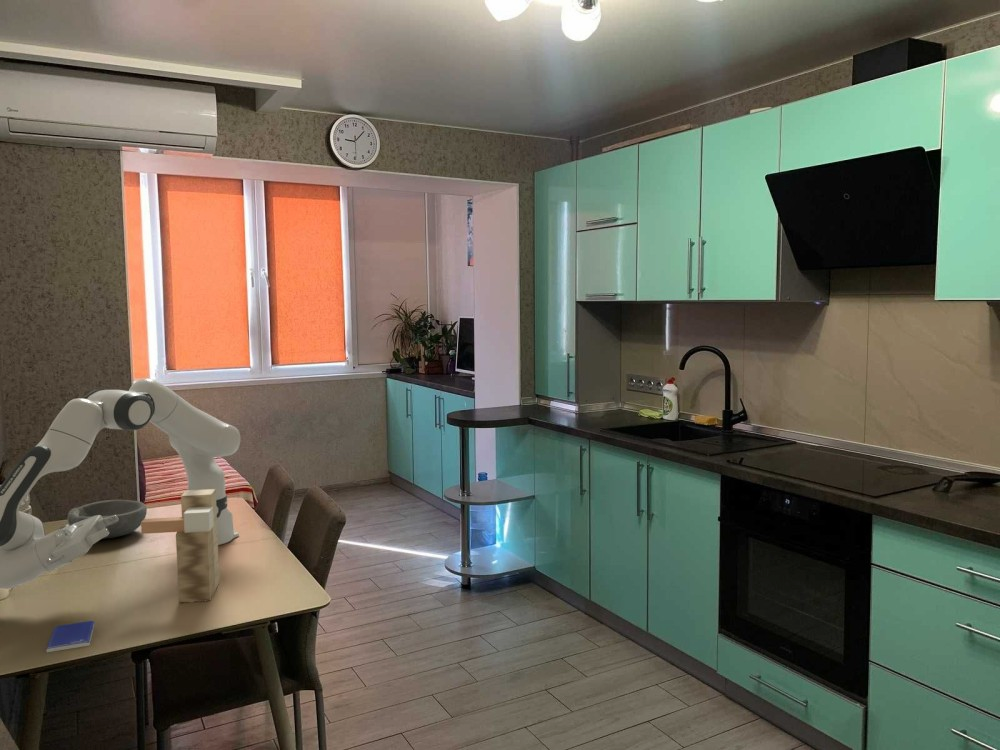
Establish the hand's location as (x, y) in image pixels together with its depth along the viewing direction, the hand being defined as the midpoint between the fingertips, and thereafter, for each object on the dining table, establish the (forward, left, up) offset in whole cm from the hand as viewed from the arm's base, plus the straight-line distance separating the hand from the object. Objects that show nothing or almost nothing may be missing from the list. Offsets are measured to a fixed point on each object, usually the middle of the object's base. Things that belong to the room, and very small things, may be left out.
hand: (112, 524), depth 188 cm
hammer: (+7, +14, -2) cm, 16 cm away
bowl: (-64, +8, -21) cm, 67 cm away
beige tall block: (+6, +19, -20) cm, 28 cm away
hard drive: (+17, -12, -21) cm, 29 cm away
